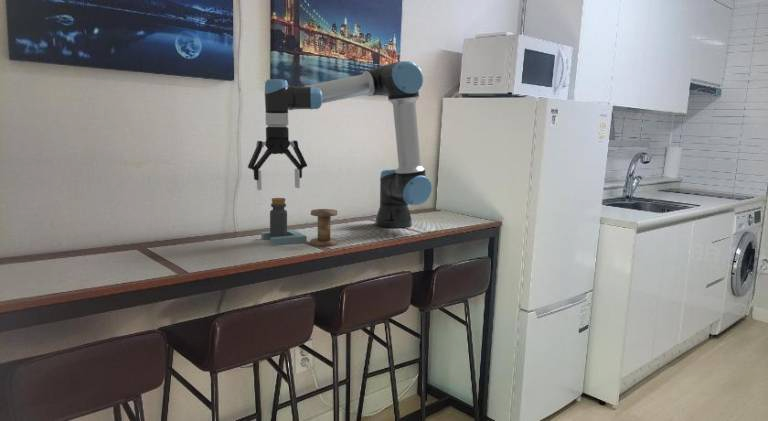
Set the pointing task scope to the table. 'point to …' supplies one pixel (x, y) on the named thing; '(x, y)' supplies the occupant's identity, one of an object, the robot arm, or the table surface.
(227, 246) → the table surface
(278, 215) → the bottle
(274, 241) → the bracket
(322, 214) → the wooden spool
